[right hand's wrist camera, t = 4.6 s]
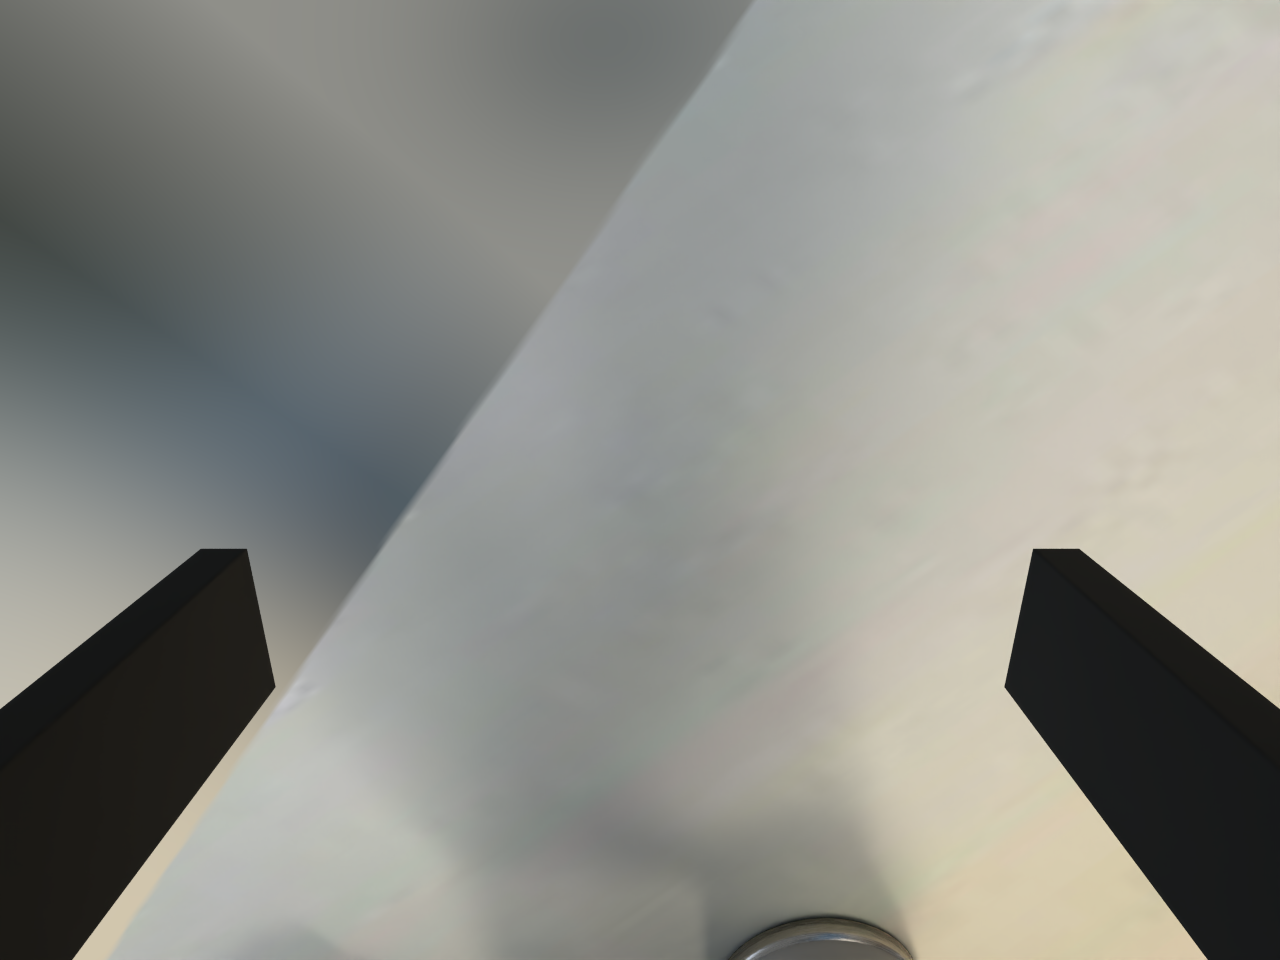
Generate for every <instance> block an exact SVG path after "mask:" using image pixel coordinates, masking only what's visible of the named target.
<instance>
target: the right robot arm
mask: <svg viewBox="0 0 1280 960" xmlns="http://www.w3.org/2000/svg"><path fill="white" fill-rule="evenodd" d="M274 688H275V682H274V677H273V673H272V668H271V663H270V658H269V653H268V648H267V644H266V639H265V634H264V629H263V624H262V620H261V615H260V610H259V605H258V600H257V596H256V591H255V586H254V581H253V576H252V571H251V566H250V562H249V557H248V552H247V549H200V550H199V551H198V552H196V553H195V554H194V555H193V556H191V557H190V558H189V559H188V560H186V561H185V562H184V563H183V564H181V565H180V566H179V567H178V568H176V569H175V570H174V571H173V572H171V573H170V574H169V575H168V576H166V577H165V578H164V579H163V580H161V581H160V582H159V583H158V584H156V585H155V586H154V587H153V588H151V589H150V590H149V591H148V592H146V593H145V594H144V595H143V596H141V597H140V598H139V599H138V600H136V601H135V602H134V603H133V604H131V605H130V606H129V607H128V608H126V609H125V610H124V611H123V612H121V613H120V614H119V615H118V616H116V617H115V618H114V619H113V620H111V621H110V622H109V623H108V624H106V625H105V626H104V627H103V628H101V629H100V630H99V631H98V632H96V633H95V634H94V635H92V636H91V637H90V638H89V639H88V640H86V641H85V642H84V643H82V644H81V645H80V646H79V647H78V648H76V649H75V650H74V651H73V652H71V653H70V654H69V655H67V656H66V657H65V658H64V659H62V660H61V661H60V662H59V663H57V664H56V665H55V666H54V667H52V668H51V669H50V670H49V671H47V672H46V673H45V674H44V675H42V676H41V677H40V678H39V679H37V680H36V681H35V682H34V683H32V684H31V685H30V686H29V687H27V688H26V689H25V690H24V691H22V692H21V693H20V694H19V695H17V696H16V697H15V698H14V699H12V700H11V701H10V702H9V703H7V704H6V705H5V706H4V707H2V708H1V709H0V960H72V959H73V958H74V957H75V955H76V954H77V953H78V951H79V950H80V949H81V947H82V946H83V945H84V943H85V942H86V941H87V939H88V938H89V936H90V935H91V934H92V932H93V931H94V930H95V928H96V927H97V926H98V924H99V923H100V922H101V920H102V919H103V918H104V916H105V915H106V914H107V912H108V911H109V910H110V908H111V907H112V906H113V904H114V903H115V901H116V900H117V899H118V898H119V896H120V895H121V894H122V892H123V891H124V890H125V888H126V887H127V885H128V884H129V883H130V882H131V880H132V879H133V877H134V876H135V875H136V873H137V872H138V871H139V869H140V868H141V867H142V865H143V864H144V863H145V861H146V860H147V859H148V857H149V856H150V855H151V853H152V852H153V851H154V849H155V848H156V847H157V845H158V844H159V843H160V841H161V840H162V839H163V837H164V836H165V835H166V833H167V832H168V831H169V829H170V828H171V826H172V825H173V824H174V822H175V821H176V820H177V818H178V817H179V816H180V814H181V813H182V812H183V810H184V809H185V808H186V806H187V805H188V804H189V802H190V801H191V800H192V798H193V797H194V796H195V794H196V793H197V792H198V790H199V789H200V788H201V786H202V785H203V784H204V782H205V781H206V780H207V778H208V777H209V776H210V774H211V773H212V771H213V770H214V769H215V768H216V766H217V765H218V763H219V762H220V761H221V759H222V758H223V757H224V755H225V754H226V753H227V751H228V750H229V749H230V747H231V746H232V745H233V743H234V742H235V741H236V739H237V738H238V737H239V735H240V734H241V733H242V731H243V730H244V729H245V727H246V726H247V725H248V723H249V722H250V721H251V719H252V718H253V716H254V715H255V714H256V713H257V711H258V710H259V709H260V707H261V706H262V704H263V703H264V702H265V700H266V699H267V698H268V696H269V695H270V694H271V692H272V691H273V690H274ZM1005 688H1006V690H1007V691H1008V692H1009V694H1010V695H1011V696H1012V698H1013V699H1014V700H1015V702H1016V703H1017V704H1018V706H1019V707H1020V709H1021V710H1022V711H1023V713H1024V714H1025V715H1026V717H1027V718H1028V719H1029V721H1030V722H1031V723H1032V725H1033V726H1034V727H1035V729H1036V730H1037V731H1038V733H1039V734H1040V735H1041V737H1042V738H1043V739H1044V741H1045V742H1046V743H1047V745H1048V746H1049V747H1050V749H1051V750H1052V751H1053V753H1054V754H1055V755H1056V757H1057V758H1058V759H1059V761H1060V762H1061V763H1062V765H1063V766H1064V768H1065V769H1066V770H1067V772H1068V773H1069V774H1070V776H1071V777H1072V778H1073V780H1074V781H1075V782H1076V784H1077V785H1078V786H1079V788H1080V789H1081V790H1082V792H1083V793H1084V794H1085V796H1086V797H1087V798H1088V800H1089V801H1090V802H1091V804H1092V805H1093V806H1094V808H1095V809H1096V810H1097V812H1098V813H1099V814H1100V816H1101V817H1102V818H1103V820H1104V821H1105V823H1106V824H1107V825H1108V827H1109V828H1110V829H1111V831H1112V832H1113V833H1114V835H1115V836H1116V837H1117V839H1118V840H1119V841H1120V843H1121V844H1122V845H1123V847H1124V848H1125V849H1126V851H1127V852H1128V853H1129V855H1130V856H1131V857H1132V859H1133V860H1134V861H1135V863H1136V864H1137V865H1138V867H1139V868H1140V869H1141V871H1142V872H1143V873H1144V875H1145V876H1146V877H1147V879H1148V880H1149V882H1150V883H1151V884H1152V886H1153V887H1154V888H1155V890H1156V891H1157V892H1158V894H1159V895H1160V896H1161V898H1162V899H1163V900H1164V902H1165V903H1166V904H1167V906H1168V907H1169V908H1170V910H1171V911H1172V912H1173V914H1174V915H1175V916H1176V918H1177V919H1178V920H1179V922H1180V923H1181V924H1182V926H1183V927H1184V928H1185V930H1186V931H1187V932H1188V934H1189V935H1190V936H1191V938H1192V939H1193V941H1194V942H1195V943H1196V945H1197V946H1198V947H1199V949H1200V950H1201V951H1202V953H1203V954H1204V955H1205V957H1206V958H1207V959H1208V960H1280V709H1279V708H1278V707H1276V706H1275V705H1274V704H1273V703H1271V702H1270V701H1269V700H1268V699H1266V698H1265V697H1264V696H1263V695H1261V694H1260V693H1259V692H1258V691H1256V690H1255V689H1254V688H1253V687H1251V686H1250V685H1249V684H1248V683H1246V682H1245V681H1244V680H1243V679H1241V678H1240V677H1239V676H1238V675H1236V674H1235V673H1234V672H1233V671H1231V670H1230V669H1229V668H1228V667H1226V666H1225V665H1224V664H1223V663H1221V662H1220V661H1219V660H1218V659H1216V658H1215V657H1214V656H1213V655H1211V654H1210V653H1209V652H1208V651H1206V650H1205V649H1204V648H1203V647H1201V646H1200V645H1199V644H1198V643H1196V642H1195V641H1194V640H1193V639H1191V638H1190V637H1189V636H1188V635H1186V634H1185V633H1184V632H1183V631H1181V630H1180V629H1179V628H1178V627H1176V626H1175V625H1174V624H1172V623H1171V622H1170V621H1169V620H1167V619H1166V618H1165V617H1164V616H1162V615H1161V614H1160V613H1159V612H1157V611H1156V610H1155V609H1154V608H1152V607H1151V606H1150V605H1149V604H1147V603H1146V602H1145V601H1144V600H1142V599H1141V598H1140V597H1139V596H1137V595H1136V594H1135V593H1134V592H1132V591H1131V590H1130V589H1129V588H1127V587H1126V586H1125V585H1124V584H1122V583H1121V582H1120V581H1119V580H1117V579H1116V578H1115V577H1114V576H1112V575H1111V574H1110V573H1109V572H1107V571H1106V570H1105V569H1104V568H1102V567H1101V566H1100V565H1099V564H1097V563H1096V562H1095V561H1094V560H1092V559H1091V558H1090V557H1089V556H1087V555H1086V554H1085V553H1084V552H1082V551H1081V550H1080V549H1033V552H1032V557H1031V562H1030V566H1029V571H1028V576H1027V581H1026V586H1025V591H1024V595H1023V600H1022V605H1021V610H1020V615H1019V620H1018V624H1017V629H1016V634H1015V639H1014V644H1013V648H1012V653H1011V658H1010V663H1009V668H1008V673H1007V677H1006V682H1005ZM729 960H913V958H912V957H911V955H910V954H909V952H908V951H907V950H906V949H905V947H904V946H903V945H902V944H901V943H899V942H898V941H897V940H896V939H895V938H893V937H892V936H890V935H889V934H887V933H885V932H884V931H882V930H879V929H877V928H875V927H873V926H870V925H867V924H864V923H860V922H856V921H851V920H845V919H835V918H817V919H807V920H800V921H795V922H791V923H787V924H783V925H780V926H777V927H774V928H772V929H770V930H767V931H765V932H763V933H761V934H759V935H757V936H756V937H754V938H752V939H751V940H749V941H748V942H746V943H745V944H744V945H742V946H741V947H740V948H739V949H738V950H737V951H736V952H735V953H734V954H733V955H732V956H731V957H730V958H729Z"/></svg>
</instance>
